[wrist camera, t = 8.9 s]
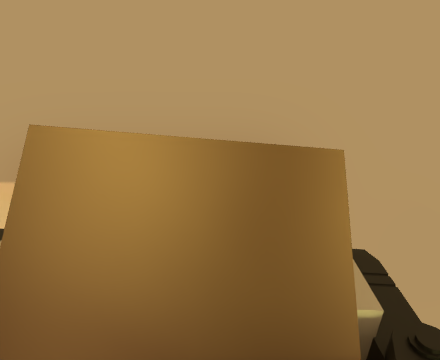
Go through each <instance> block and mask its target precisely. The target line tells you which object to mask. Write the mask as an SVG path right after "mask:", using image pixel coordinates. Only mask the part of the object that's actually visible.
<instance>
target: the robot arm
mask: <svg viewBox="0 0 440 360" xmlns="http://www.w3.org/2000/svg"><path fill="white" fill-rule="evenodd" d="M3 233H4V229H0V245H1V241H2V237H3ZM352 255H353V267H354V279H355V291H356V304H357V316H358V328H359V340H360V352H361V360H440V330H439V329H437V328H436V327H433V326H430V325H427V324H424V323H422V322H421V321H420V319H419V318H418V317H417V315H416V314H415V312H414V311H413V309H412V308H411V306H410V305H409V303H408V302H407V300H406V299H405V298H404V296H403V295H402V293H401V292H400V290H399V289H398V288H397V287H396V286H395V283H394V282H393V280H392V279H391V278H390V277H389V276H388V273H387V272H386V270H385V269H384V267H383V266H382V264H381V263H380V262H379V260H377V259H376V258H375V257H373V256H372V255H371V254H369V253H368V252H367V251H365V250H361V249H352Z"/></svg>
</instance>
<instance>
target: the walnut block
mask: <svg viewBox="0 0 440 360" xmlns="http://www.w3.org/2000/svg"><path fill="white" fill-rule="evenodd" d="M0 360H361V352H360V340H359V328H358V316H357V304H356V291H355V279H354V267H353V255H352V243H351V232H350V219H349V207H348V194H347V183H346V170H345V158H344V150H337V149H324V148H313V147H300V146H288V145H276V144H262V143H251V142H238V141H226V140H213V139H201V138H189V137H176V136H164V135H152V134H139V133H126V132H115V131H102V130H89V129H78V128H65V127H52V126H40V125H29V128H28V133H27V137H26V141H25V145H24V149H23V154H22V158H21V162H20V166H19V170H18V174H17V179H16V183H15V187H14V191H13V195H12V199H11V203H10V208H9V212H8V216H7V220H6V224H5V228H4V233H3V237H2V241H1V245H0Z"/></svg>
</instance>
